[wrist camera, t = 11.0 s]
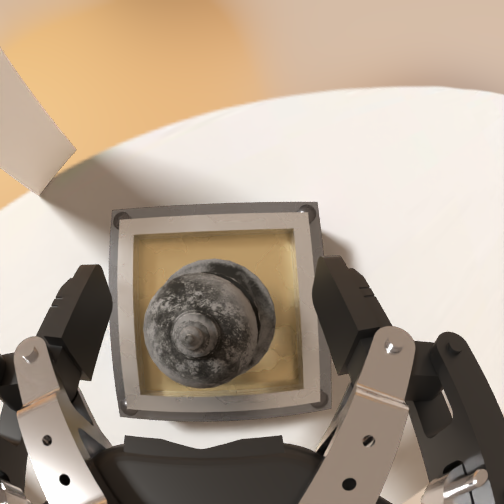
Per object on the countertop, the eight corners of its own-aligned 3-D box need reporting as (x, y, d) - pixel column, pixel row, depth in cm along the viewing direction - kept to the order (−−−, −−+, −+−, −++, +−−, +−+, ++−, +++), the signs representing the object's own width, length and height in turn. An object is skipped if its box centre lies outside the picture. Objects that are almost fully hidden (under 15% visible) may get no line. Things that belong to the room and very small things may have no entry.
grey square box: (137, 400, 19) (112, 424, 13) (130, 226, 21) (104, 202, 16) (314, 392, 20) (339, 415, 15) (302, 219, 23) (324, 193, 17)
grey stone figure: (182, 375, 16) (105, 483, 4) (158, 281, 17) (37, 225, 5) (277, 351, 16) (373, 427, 5) (252, 258, 17) (299, 156, 6)
